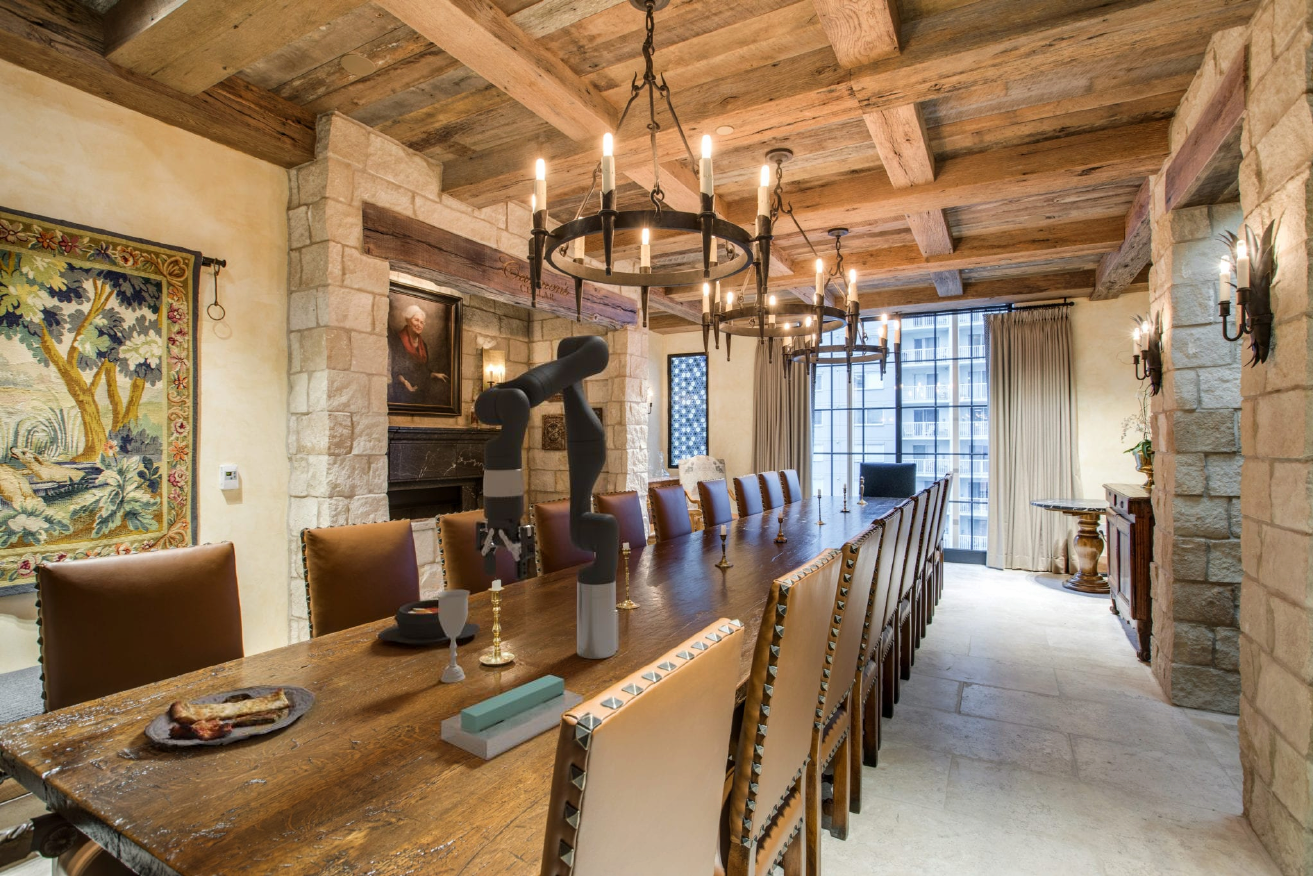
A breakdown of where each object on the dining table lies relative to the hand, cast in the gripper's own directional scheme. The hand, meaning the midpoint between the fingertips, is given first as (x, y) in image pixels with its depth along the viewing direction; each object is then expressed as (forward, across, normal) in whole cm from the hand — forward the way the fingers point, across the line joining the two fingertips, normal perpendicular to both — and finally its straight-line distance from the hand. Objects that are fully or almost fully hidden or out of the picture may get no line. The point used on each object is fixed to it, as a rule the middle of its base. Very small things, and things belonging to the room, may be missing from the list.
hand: (505, 577), depth 120 cm
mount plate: (+24, -9, +6) cm, 26 cm away
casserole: (+25, +47, -16) cm, 56 cm away
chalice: (+25, +19, -2) cm, 31 cm away
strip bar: (+24, -9, +6) cm, 26 cm away
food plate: (+24, +34, +34) cm, 54 cm away
